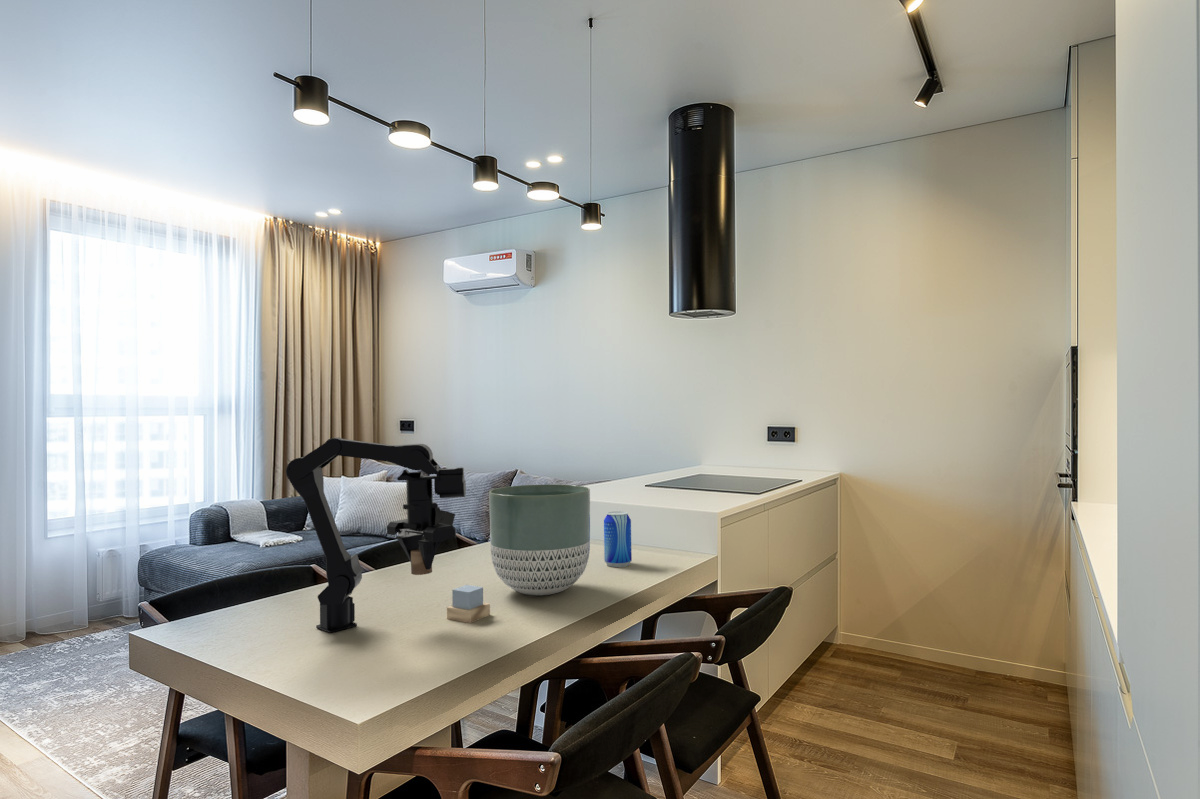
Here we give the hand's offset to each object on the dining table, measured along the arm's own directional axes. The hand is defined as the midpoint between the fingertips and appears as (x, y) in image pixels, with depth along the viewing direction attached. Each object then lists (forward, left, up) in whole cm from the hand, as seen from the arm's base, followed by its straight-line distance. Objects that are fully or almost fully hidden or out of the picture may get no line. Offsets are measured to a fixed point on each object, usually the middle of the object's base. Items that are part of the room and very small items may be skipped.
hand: (421, 567), depth 155 cm
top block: (+9, -5, -10) cm, 14 cm away
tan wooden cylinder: (0, 0, -1) cm, 1 cm away
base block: (+10, -5, -13) cm, 17 cm away
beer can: (+72, 0, -13) cm, 74 cm away
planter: (+35, -3, -13) cm, 38 cm away
